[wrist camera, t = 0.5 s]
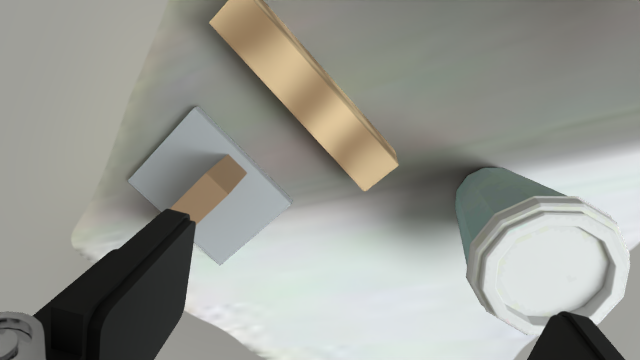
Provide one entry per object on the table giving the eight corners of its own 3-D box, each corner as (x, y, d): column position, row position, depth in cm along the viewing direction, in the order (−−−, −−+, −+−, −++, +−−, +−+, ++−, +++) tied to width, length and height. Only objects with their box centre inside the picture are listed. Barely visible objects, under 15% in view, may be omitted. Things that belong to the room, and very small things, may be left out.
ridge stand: (198, 106, 40) (165, 119, 34) (292, 200, 43) (279, 230, 36) (132, 178, 44) (91, 202, 38) (222, 261, 47) (199, 297, 40)
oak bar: (228, 24, 37) (208, 22, 33) (257, -8, 36) (240, -14, 31) (364, 174, 41) (364, 192, 36) (395, 150, 40) (398, 165, 35)
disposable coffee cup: (427, 159, 39) (459, 227, 25) (541, 132, 37) (645, 191, 23) (446, 249, 43) (484, 353, 29) (552, 229, 40) (649, 332, 26)
